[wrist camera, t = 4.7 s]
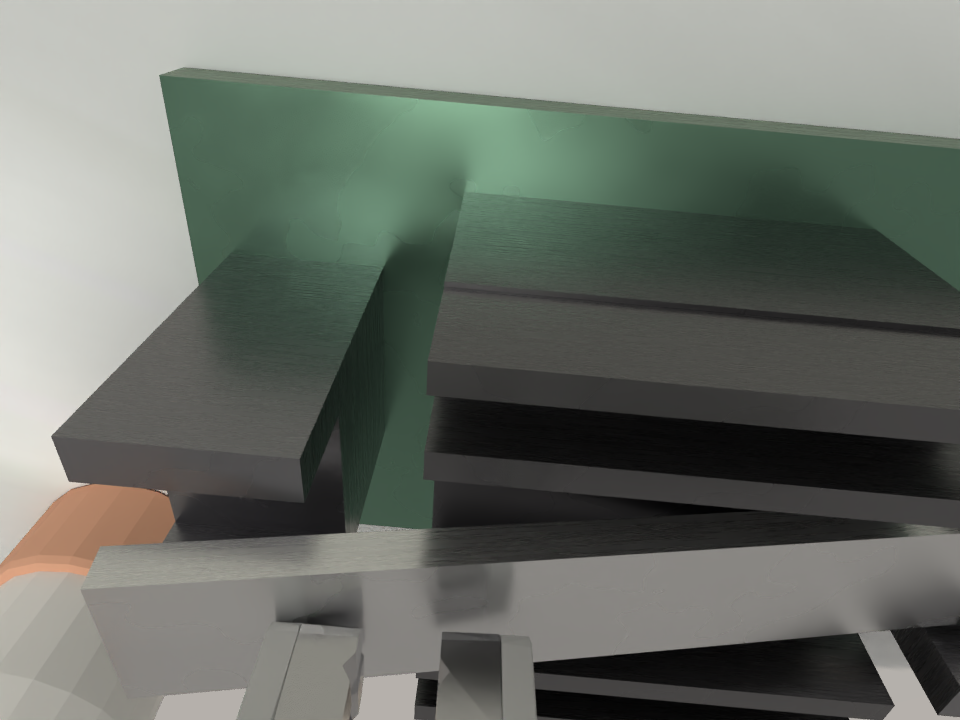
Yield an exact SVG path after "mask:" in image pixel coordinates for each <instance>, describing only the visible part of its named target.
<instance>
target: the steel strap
mask: <svg viewBox="0 0 960 720" xmlns="http://www.w3.org/2000/svg"><path fill="white" fill-rule="evenodd" d="M80 590H81V593H82V595H83V597H84V600H85V602H86V604H87V606H88V609H89V611H90V613H91V616H92V618H93V620H94V623H95V625H96V627H97V629H98V632H99V634H100V636H101V639H102V641H103V643H104V646H105V648H106V650H107V652H108V655H109V657H110V659H111V662H112V664H113V666H114V669H115V671H116V673H117V675H118V678H119V680H120V682H121V685H122V687H123V689H124V692H125V694H126V696H127V698H128V699H131V698H142V697H154V696H165V695H176V694H187V693H197V692H209V691H220V690H230V689H242V688H247V686H248V683H249V680H250V678H251V675H252V672H253V669H254V666H255V663H256V660H257V657H258V654H259V651H260V648H261V645H262V642H263V639H264V636H265V633H266V631H267V629H268V628H269V626H270V624H271V623H272V622H291V623H304V624H316V625H332V626H347V627H363V637H364V640H363V646H362V651H361V653H362V654H364V677H375V676H387V675H397V674H408V673H420V672H431V671H439V662H440V649H441V638H442V632H463V633H488V634H499V636H500V635H515V636H529V638H530V641H531V643H532V652H533V662H542V661H553V660H564V659H575V658H586V657H597V656H608V655H620V654H631V653H642V652H653V651H664V650H675V649H686V648H697V647H708V646H719V645H730V644H742V643H753V642H764V641H775V640H786V639H797V638H808V637H819V636H830V635H841V634H853V633H864V632H875V631H886V630H897V629H908V628H919V627H930V626H941V625H952V624H956V625H958V626H960V529H958V528H947V527H936V526H925V525H914V524H903V523H893V522H882V521H871V520H860V519H849V518H838V517H827V516H816V515H805V514H794V513H784V512H773V511H749V512H730V513H711V514H693V515H674V516H656V517H637V518H618V519H600V520H581V521H563V522H544V523H525V524H507V525H488V526H470V527H451V528H432V529H414V530H395V531H377V532H358V533H339V534H321V535H302V536H284V537H265V538H246V539H228V540H209V541H191V542H172V543H153V544H135V545H116V546H100V548H99V550H98V552H97V555H96V557H95V559H94V561H93V563H92V565H91V567H90V570H89V572H88V574H87V576H86V578H85V580H84V583H83V585H82V587H81V589H80Z"/></svg>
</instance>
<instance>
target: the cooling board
mask: <svg viewBox="0 0 960 720" xmlns="http://www.w3.org/2000/svg"><path fill="white" fill-rule="evenodd" d="M159 76H160V82H161V87H162V92H163V97H164V103H165V108H166V113H167V119H168V124H169V129H170V134H171V140H172V145H173V150H174V156H175V161H176V166H177V171H178V177H179V182H180V187H181V193H182V198H183V203H184V209H185V214H186V219H187V224H188V230H189V235H190V240H191V246H192V251H193V256H194V261H195V267H196V272H197V277H198V283H199V286H198V287H197V288H196V289H195V290H194V291H193V292H192V293H191V294H190V295H189V296H188V297H187V298H186V299H185V300H184V301H183V302H182V303H181V304H180V305H179V306H178V307H177V309H176V310H175V311H174V312H173V313H172V314H171V315H170V316H169V317H168V318H167V319H166V320H165V321H164V322H163V323H162V324H161V325H160V326H159V327H158V328H157V329H156V330H155V331H154V332H153V333H152V334H151V335H150V336H149V337H148V338H147V339H146V340H145V341H144V342H143V343H142V344H141V345H140V346H139V347H138V348H137V349H136V350H135V351H134V352H133V353H132V354H131V355H130V356H129V357H128V358H127V359H126V361H125V362H124V363H123V364H122V365H121V366H120V367H119V368H118V369H117V370H116V371H115V372H114V373H113V374H112V375H111V376H110V377H109V378H108V379H107V380H106V381H105V382H104V383H103V384H102V385H101V386H100V387H99V388H98V389H97V390H96V391H95V392H94V393H93V394H92V395H91V396H90V397H89V398H88V399H87V400H86V401H85V402H84V403H83V404H82V405H81V406H80V407H79V408H78V409H77V410H76V412H75V413H74V414H73V415H72V416H71V417H70V418H69V419H68V420H67V421H66V422H65V423H64V424H63V425H62V426H61V427H60V428H59V429H58V430H57V431H56V432H55V433H54V434H53V435H52V436H51V437H52V439H53V442H54V445H55V447H56V450H57V452H58V455H59V457H60V460H61V462H62V465H63V468H64V470H65V473H66V475H67V478H68V480H69V482H79V483H89V484H100V485H111V486H122V487H133V488H144V489H155V490H166V491H167V493H168V496H169V500H170V503H171V507H172V511H173V514H174V518H175V523H174V524H173V526H172V528H171V529H170V531H169V533H168V534H167V536H166V538H165V539H164V541H163V542H162V543H172V542H191V541H209V540H228V539H246V538H265V537H284V536H302V535H321V534H339V533H357V529H358V526H359V524H368V525H379V526H390V527H401V528H412V529H432V528H451V527H470V526H488V525H507V524H525V523H544V522H563V521H581V520H600V519H618V518H637V517H656V516H674V515H693V514H711V513H730V512H749V511H773V512H784V513H794V514H805V515H816V516H827V517H838V518H849V519H860V520H871V521H882V522H893V523H903V524H914V525H925V526H936V527H947V528H958V529H960V139H954V138H943V137H932V136H921V135H910V134H899V133H889V132H878V131H867V130H856V129H845V128H834V127H823V126H813V125H802V124H791V123H780V122H769V121H758V120H747V119H737V118H726V117H715V116H704V115H693V114H682V113H672V112H661V111H650V110H639V109H628V108H617V107H606V106H596V105H585V104H574V103H563V102H552V101H541V100H531V99H520V98H509V97H498V96H487V95H476V94H465V93H455V92H444V91H433V90H422V89H411V88H400V87H390V86H379V85H368V84H357V83H346V82H335V81H324V80H314V79H303V78H292V77H281V76H270V75H259V74H248V73H238V72H227V71H216V70H205V69H194V68H180V69H177V70H174V71H171V72H168V73H165V74H161V75H159ZM890 631H891V632H892V634H893V636H894V638H895V640H896V641H897V643H898V645H899V647H900V649H901V650H902V652H903V654H904V656H905V657H906V659H907V661H908V663H909V665H910V666H911V668H912V670H913V672H914V673H915V675H916V677H917V679H918V681H919V682H920V684H921V686H922V688H923V690H924V691H925V693H926V695H927V697H928V698H929V700H930V702H931V704H932V706H933V707H934V709H935V711H936V713H937V715H943V716H953V717H960V626H958V625H956V624H952V625H941V626H930V627H919V628H908V629H897V630H890ZM533 667H534V682H535V696H536V711H537V720H849V718H860V719H870V720H883V719H884V718H885V717H886V715H887V714H888V713H889V712H890V711H891V709H892V708H893V707H894V706H895V705H894V704H893V702H892V700H891V698H890V696H889V694H888V692H887V690H886V688H885V686H884V684H883V683H882V680H881V678H880V676H879V674H878V672H877V670H876V668H875V666H874V664H873V662H872V660H871V658H870V656H869V654H868V652H867V650H866V649H865V647H864V645H863V643H862V641H861V639H860V637H859V635H858V633H853V634H841V635H830V636H819V637H808V638H797V639H786V640H775V641H764V642H753V643H742V644H730V645H719V646H708V647H697V648H686V649H675V650H664V651H653V652H642V653H631V654H620V655H608V656H597V657H586V658H575V659H564V660H553V661H542V662H533ZM438 675H439V671H431V672H420V673H416V678H419V679H418V686H417V693H416V701H415V716H414V719H416V720H435V719H436V718H435V717H436V701H437V688H438Z"/></svg>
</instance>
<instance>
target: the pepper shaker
mask: <svg viewBox="0 0 960 720" xmlns="http://www.w3.org/2000/svg"><path fill="white" fill-rule="evenodd" d="M174 523H175V518H174V514H173V511H172V507H171V503H170V500H169V497H167V496H165V495H163V494H161V493H159V492H155V491H151V490H147V489H143V488H133V487H122V486H111V485H100V484H92V485H88V486H84V487H80V488H76V489H72V490H70V491H68V492H67V493H66V494H64V495H63V496H62V497H60V498H59V499H57V500H56V501H55V502H54V503H53V504H52V505H51V506H50V507H49V508H48V510H47V511H46V512H45V513H44V514H43V515H42V517H41V518H40V519H39V520H38V521H37V522H36V524H35V525H34V526H33V527H32V528H31V529H30V531H29V532H28V533H27V534H26V535H25V536H24V538H23V539H22V540H21V541H20V542H19V543H18V545H17V546H16V547H15V548H14V549H13V550H12V552H11V553H10V554H9V555H8V556H7V557H6V559H5V560H4V561H3V562H2V563H1V564H0V720H154V718H155V716H156V714H157V711H158V709H159V707H160V705H161V703H162V700H163V698H164V696H154V697H142V698H131V699H128V698H127V696H126V694H125V692H124V689H123V687H122V685H121V682H120V680H119V678H118V675H117V673H116V671H115V669H114V666H113V664H112V662H111V659H110V657H109V655H108V652H107V650H106V648H105V646H104V643H103V641H102V639H101V636H100V634H99V632H98V629H97V627H96V625H95V623H94V620H93V618H92V616H91V613H90V611H89V609H88V606H87V604H86V602H85V600H84V597H83V595H82V593H81V590H80V589H81V587H82V585H83V583H84V580H85V578H86V576H87V574H88V572H89V570H90V567H91V565H92V563H93V561H94V559H95V557H96V555H97V552H98V550H99V548H100V546H116V545H135V544H153V543H162V542H163V541H164V539H165V538H166V536H167V534H168V533H169V531H170V529H171V528H172V526H173V524H174Z"/></svg>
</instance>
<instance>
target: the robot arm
mask: <svg viewBox="0 0 960 720" xmlns="http://www.w3.org/2000/svg"><path fill="white" fill-rule="evenodd" d="M363 640H364V637H363V627H347V626H332V625H316V624H304V623H291V622H272V623H271V624H270V626H269V628H268V629H267V631H266V633H265V636H264V639H263V642H262V645H261V648H260V651H259V654H258V657H257V660H256V663H255V666H254V669H253V672H252V675H251V678H250V680H249V683H248V686H247V689H246V692H245V695H244V698H243V701H242V704H241V707H240V710H239V713H238V716H237V719H236V720H353V719H354V718H355V717H356V716H357V715H358V712H359V706H360V700H361V693H362V686H363V678H364V654H362V653H361V651H362V646H363ZM435 718H436V719H435V720H537V711H536V696H535V682H534V667H533V652H532V643H531V641H530V638H529V636H515V635H500V636H499V634H488V633H463V632H442V638H441V649H440V662H439V675H438V688H437V701H436V717H435Z"/></svg>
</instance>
